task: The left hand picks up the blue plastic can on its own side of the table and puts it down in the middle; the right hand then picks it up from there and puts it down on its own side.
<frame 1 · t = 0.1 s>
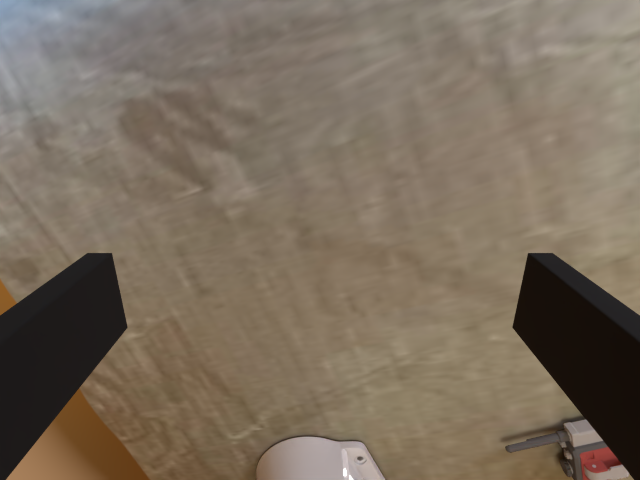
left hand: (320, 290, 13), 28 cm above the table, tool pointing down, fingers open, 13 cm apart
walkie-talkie: (579, 439, 52), on the table
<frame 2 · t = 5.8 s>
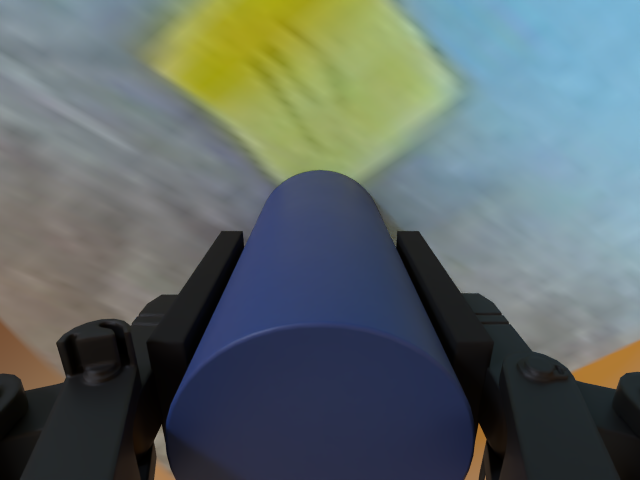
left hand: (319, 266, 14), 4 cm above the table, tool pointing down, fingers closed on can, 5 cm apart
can: (320, 229, 18), on the table, touching left hand
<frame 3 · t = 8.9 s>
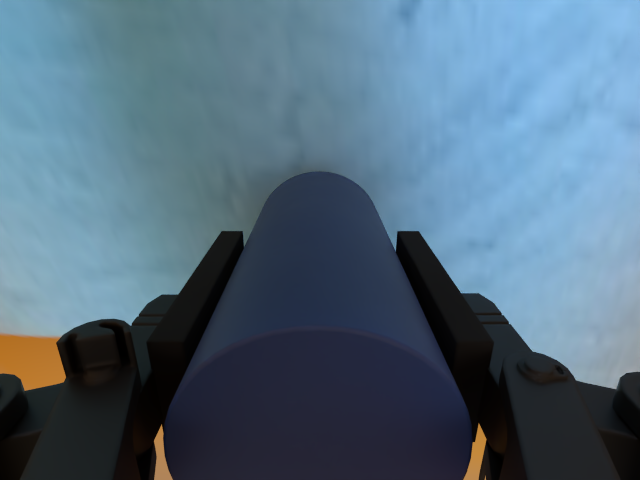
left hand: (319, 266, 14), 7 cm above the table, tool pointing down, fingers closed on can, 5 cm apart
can: (319, 231, 18), point 3 cm above the table, touching left hand
when the left hand's fingers open (6 cm above the table, at t = 11.9 s): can drops 2 cm, on the table.
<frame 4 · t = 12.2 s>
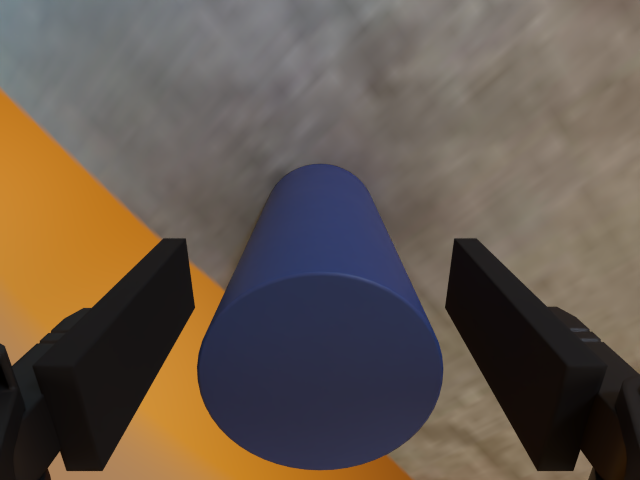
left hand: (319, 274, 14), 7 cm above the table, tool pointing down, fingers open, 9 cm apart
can: (320, 218, 20), on the table
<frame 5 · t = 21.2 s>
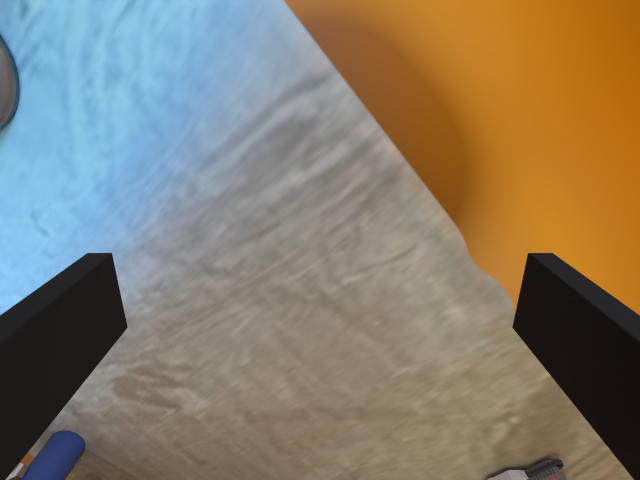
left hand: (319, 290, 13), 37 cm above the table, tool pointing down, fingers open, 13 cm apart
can: (68, 443, 64), on the table, touching right hand
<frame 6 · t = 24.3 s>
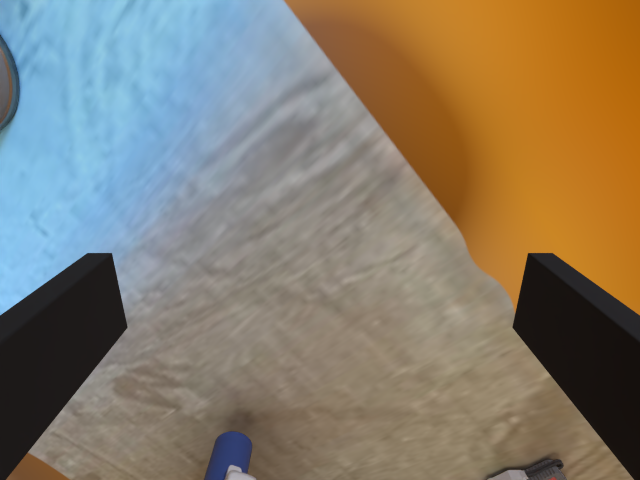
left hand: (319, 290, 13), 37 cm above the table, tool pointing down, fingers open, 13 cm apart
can: (233, 445, 59), point 4 cm above the table, touching right hand
when the right hand's fingers open (8 cm above the table, at t = 27.5 s): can drops 2 cm, on the table.
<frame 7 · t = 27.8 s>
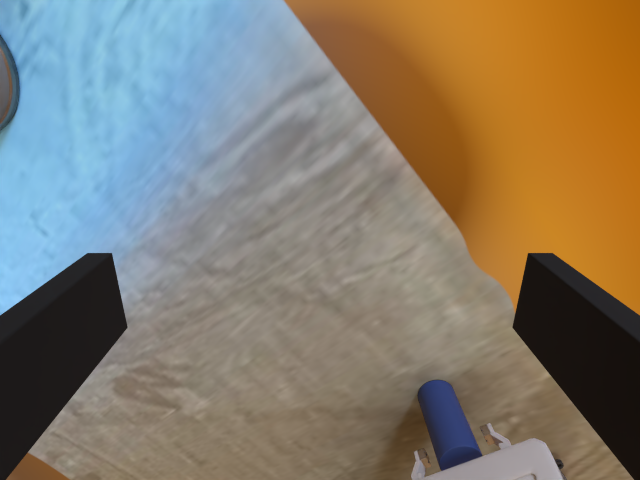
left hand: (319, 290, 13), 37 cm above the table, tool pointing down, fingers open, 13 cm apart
right hand: (452, 440, 53), fingers open, 8 cm apart
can: (435, 394, 61), on the table
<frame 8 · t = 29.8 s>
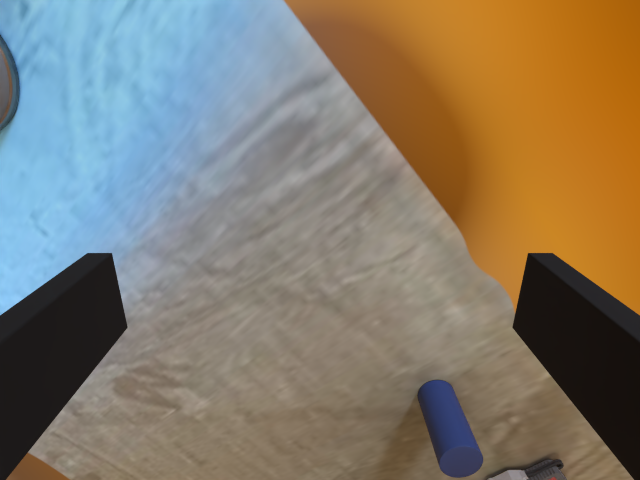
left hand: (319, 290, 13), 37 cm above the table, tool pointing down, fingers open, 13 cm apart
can: (435, 394, 61), on the table
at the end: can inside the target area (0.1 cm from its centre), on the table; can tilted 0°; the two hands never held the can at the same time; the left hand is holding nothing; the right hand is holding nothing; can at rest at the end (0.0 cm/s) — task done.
